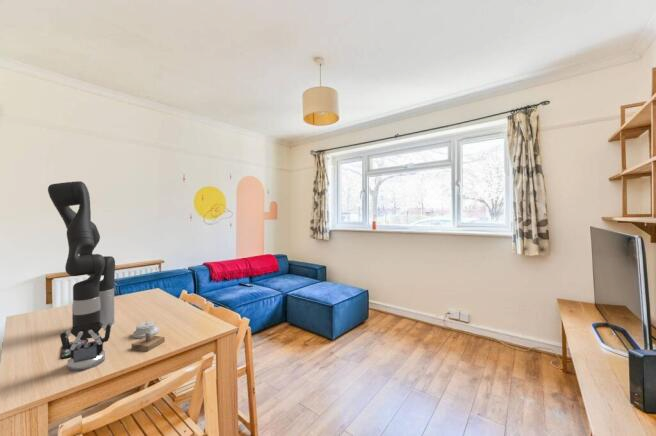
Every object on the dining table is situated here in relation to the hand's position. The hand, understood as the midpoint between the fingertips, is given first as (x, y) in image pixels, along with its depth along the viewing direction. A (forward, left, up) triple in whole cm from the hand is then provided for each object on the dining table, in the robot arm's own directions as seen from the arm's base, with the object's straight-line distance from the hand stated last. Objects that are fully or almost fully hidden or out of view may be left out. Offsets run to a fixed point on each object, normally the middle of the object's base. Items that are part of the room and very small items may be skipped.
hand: (87, 356), depth 97 cm
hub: (0, 0, -3) cm, 3 cm away
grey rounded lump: (-1, +25, -3) cm, 25 cm away
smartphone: (-16, +7, -3) cm, 18 cm away
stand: (+10, +16, -3) cm, 19 cm away
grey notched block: (0, 0, 0) cm, 0 cm away
